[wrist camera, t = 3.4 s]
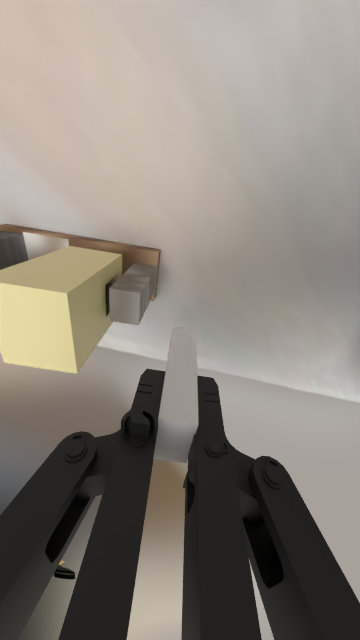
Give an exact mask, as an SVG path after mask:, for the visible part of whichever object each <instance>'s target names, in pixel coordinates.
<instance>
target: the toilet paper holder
mask: <svg viewBox="0 0 360 640" xmlns="http://www.w3.org/2000/svg"><path fill="white" fill-rule="evenodd" d="M69 246H74V247H80V248H86V249H92V250H98V251H104V252H110V253H116V254H122V276H121V277H120V278H119V279H118V280H117V281H116V282H115V283H114V284H111V283H107V284H106V285H105V294H106V305H109V306H110V321H115V322H121V323H128V324H134V325H139V323H140V321H141V319H142V317H143V315H144V312H145V310H146V308H147V306H148V304H149V301H150V300H151V301H154V299H155V297H156V289H157V278H158V268H159V258H160V250H159V249H153V248H147V247H141V246H135V245H129V244H123V243H117V242H111V241H105V240H99V239H93V238H87V237H81V236H75V235H69V234H63V233H57V232H51V231H45V230H39V229H33V228H27V227H21V226H15V225H9V224H4V225H0V270H2V269H5V268H8V267H10V266H13V265H16V264H19V263H22V262H25V261H28V260H31V259H34V258H37V257H40V256H43V255H46V254H49V253H51V252H54V251H57V250H60V249H63V248H66V247H69Z"/></svg>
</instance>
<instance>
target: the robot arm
mask: <svg viewBox="0 0 360 640" xmlns="http://www.w3.org/2000/svg"><path fill="white" fill-rule="evenodd" d="M153 459H161V460H168V461H175V462H183V463H187V460H188V472H187V475H186V478H185V481H184V485H183V488H185V489H186V490H185V492H186V493H185V527H184V565H183V606H182V607H183V608H182V640H262V639H261V633H260V628H259V627H260V626H259V620H258V614H257V608H256V601H255V595H254V588H253V582H252V576H251V570H250V563H251V566H252V570H253V573H254V576H255V579H256V582H257V586H258V589H259V592H260V595H261V598H262V602H263V605H264V608H265V611H266V614H267V618H268V621H269V624H270V627H271V630H272V633H273V637H274V640H360V603H359V601H358V599H357V597H356V596H355V594H354V592H353V590H352V588H351V586H350V585H349V583H348V581H347V579H346V577H345V575H344V574H343V572H342V570H341V568H340V567H339V565H338V563H337V561H336V559H335V557H334V556H333V554H332V552H331V550H330V548H329V547H328V545H327V543H326V541H325V539H324V537H323V535H322V534H321V532H320V530H319V528H318V526H317V525H316V523H315V521H314V519H313V517H312V515H311V514H310V512H309V510H308V508H307V507H306V504H305V503H304V501H303V499H302V497H301V495H300V494H299V492H298V490H297V488H296V486H295V484H294V483H293V481H292V479H291V477H290V475H289V474H288V472H287V471H286V470H285V468H284V467H283V465H281V464H280V463H279V462H278V461H277V460H275V459H273V458H271V457H269V456H261V457H259V458H257V459H256V460H255V459H253V458H251V457H249V456H247V455H245V454H243V453H241V452H239V451H237V450H236V449H235V448H234V447H233V446H232V445H231V444H230V443H229V442H228V440H227V438H226V436H225V432H224V426H223V419H222V412H221V405H220V397H219V390H218V385H217V384H216V382H215V380H214V379H213V378H209V377H203V376H197V353H196V330H193V329H187V328H180V327H174V326H173V328H172V335H171V341H170V347H169V354H168V360H167V366H166V372H165V371H158V370H152V369H146V371H145V372H144V373H143V374H142V375H141V377H140V381H139V384H138V387H137V391H136V394H135V398H134V401H133V404H132V408H131V410H130V411H129V412H127V413H126V414H125V415H124V417H123V418H122V420H121V429H120V430H119V431H117V432H115V433H113V434H110V435H106V436H101V437H96V438H95V437H94V436H93V435H91V434H90V433H88V432H76V433H73V434H71V435H69V436H67V437H66V438H65V439H64V440H62V441H61V442H60V443H59V444H58V446H57V447H56V448H55V450H54V451H53V452H52V453H51V454H50V455H49V457H48V458H47V459H46V460H45V462H44V463H43V464H42V465H41V466H40V468H39V469H38V470H37V471H36V472H35V474H34V475H33V476H32V477H31V479H30V480H29V481H28V482H27V483H26V485H25V486H24V487H23V488H22V490H21V491H20V492H19V493H18V494H17V496H16V497H15V498H14V499H13V501H12V502H11V503H10V504H9V506H8V507H7V508H6V509H5V510H4V511H3V513H2V514H1V515H0V640H18V639H19V637H20V635H21V633H22V631H23V629H24V627H25V626H26V624H27V622H28V620H29V618H30V616H31V614H32V612H33V611H34V609H35V607H36V605H37V603H38V601H39V600H40V598H41V596H42V594H43V592H44V590H45V589H46V587H47V585H48V583H49V581H50V579H51V577H52V576H53V574H54V572H55V570H56V568H57V566H58V565H59V563H60V561H61V559H62V557H63V555H64V553H65V551H66V550H67V548H68V546H69V544H70V542H71V541H72V539H73V537H74V535H75V533H76V531H77V529H78V528H79V526H80V524H81V522H82V520H83V518H84V517H85V515H86V513H87V511H88V509H89V507H90V505H91V503H92V502H93V500H94V498H95V496H98V495H102V494H103V495H102V499H101V502H100V505H99V508H98V512H97V515H96V518H95V521H94V525H93V528H92V531H91V535H90V538H89V541H88V544H87V548H86V551H85V555H84V558H83V561H82V564H81V567H80V571H79V574H78V577H77V581H76V584H75V587H74V590H73V594H72V597H71V600H70V604H69V607H68V610H67V613H66V617H65V620H64V624H63V627H62V630H61V633H60V637H59V640H126V639H127V632H128V626H129V619H130V612H131V606H132V599H133V592H134V586H135V579H136V571H137V565H138V559H139V552H140V545H141V539H142V532H143V525H144V519H145V512H146V505H147V498H148V492H149V485H150V478H151V472H152V465H153ZM249 560H250V563H249Z"/></svg>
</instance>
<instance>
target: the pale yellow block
mask: <svg viewBox="0 0 360 640" xmlns="http://www.w3.org/2000/svg"><path fill="white" fill-rule="evenodd" d="M121 276H122V254H116V253H110V252H104V251H98V250H92V249H86V248H80V247H74V246H69V247H66V248H63V249H60V250H57V251H54V252H51V253H49V254H46V255H43V256H40V257H37V258H34V259H31V260H28V261H25V262H22V263H19V264H16V265H13V266H10V267H8V268H5V269H2V270H0V351H1V354H2V357H3V360H4V362H5V363H10V364H17V365H24V366H30V367H37V368H44V369H50V370H56V371H63V372H69V373H76V374H77V373H78V372H79V371H80V369H81V368H82V366H83V365H84V363H85V362H86V360H87V359H88V358H89V356H90V355H91V353H92V352H93V350H94V349H95V347H96V346H97V344H98V343H99V342H100V340H101V339H102V337H103V336H104V334H105V333H106V331H107V330H108V328H109V327H110V326H111V324H112V323H113V321H110V306H109V305H106V294H105V285H106V284H107V283H111V284H114V283H115V282H116V281H117V280H118V279H119V278H120V277H121Z"/></svg>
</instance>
